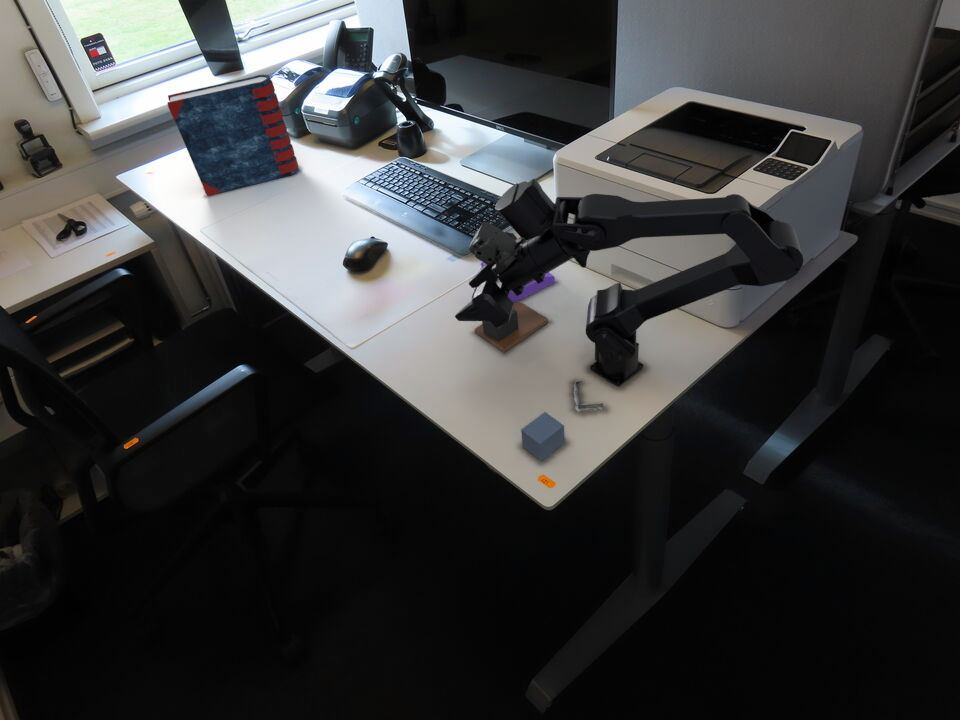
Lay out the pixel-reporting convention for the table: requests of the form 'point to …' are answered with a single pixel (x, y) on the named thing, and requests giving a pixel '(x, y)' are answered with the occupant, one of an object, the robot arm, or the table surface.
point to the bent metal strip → (585, 406)
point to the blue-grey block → (543, 436)
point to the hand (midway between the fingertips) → (463, 301)
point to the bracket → (530, 287)
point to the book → (234, 133)
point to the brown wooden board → (526, 323)
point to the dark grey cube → (503, 331)
